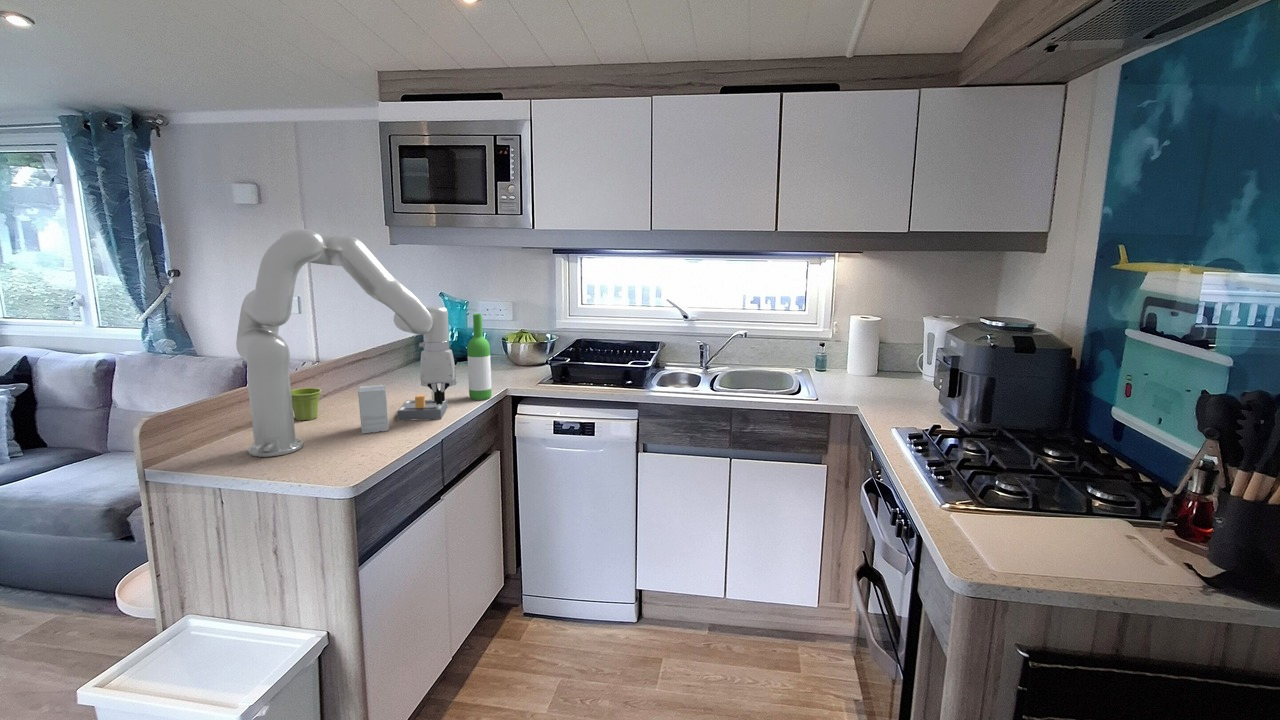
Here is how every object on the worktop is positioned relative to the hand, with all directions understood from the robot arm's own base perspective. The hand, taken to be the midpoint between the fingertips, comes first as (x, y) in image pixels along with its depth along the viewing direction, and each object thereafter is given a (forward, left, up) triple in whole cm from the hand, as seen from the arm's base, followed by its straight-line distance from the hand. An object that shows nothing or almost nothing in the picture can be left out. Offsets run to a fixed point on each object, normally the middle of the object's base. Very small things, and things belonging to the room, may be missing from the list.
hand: (439, 403), depth 196 cm
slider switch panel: (+4, +6, -4) cm, 8 cm away
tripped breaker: (0, +6, -1) cm, 6 cm away
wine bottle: (+23, -10, -5) cm, 26 cm away
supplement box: (-11, +17, -5) cm, 21 cm away
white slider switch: (+8, +2, -1) cm, 8 cm away
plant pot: (+3, +41, -5) cm, 41 cm away
